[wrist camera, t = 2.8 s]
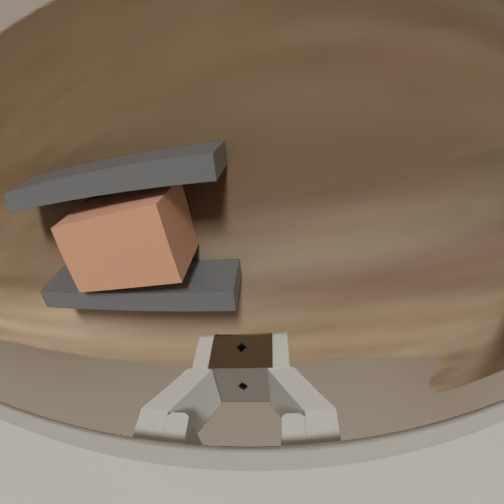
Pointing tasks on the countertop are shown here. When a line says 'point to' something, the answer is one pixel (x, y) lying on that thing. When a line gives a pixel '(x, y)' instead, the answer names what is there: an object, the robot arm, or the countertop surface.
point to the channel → (129, 179)
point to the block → (128, 239)
